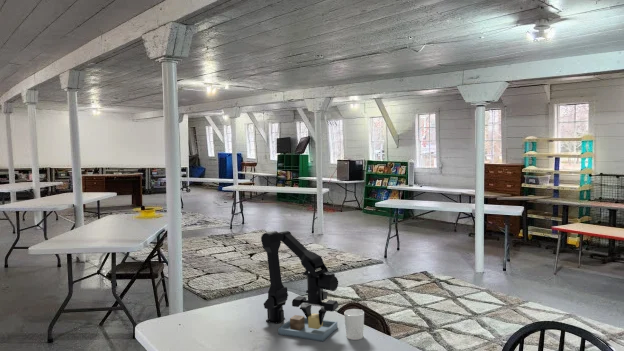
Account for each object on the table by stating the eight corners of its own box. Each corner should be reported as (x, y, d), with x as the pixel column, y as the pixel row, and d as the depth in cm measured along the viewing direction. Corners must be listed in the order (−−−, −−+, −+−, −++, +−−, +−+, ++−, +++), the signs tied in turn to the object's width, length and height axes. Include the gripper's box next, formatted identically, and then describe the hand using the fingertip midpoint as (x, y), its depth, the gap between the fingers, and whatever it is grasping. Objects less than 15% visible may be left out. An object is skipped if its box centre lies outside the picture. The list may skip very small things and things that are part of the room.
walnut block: (290, 329, 196) (289, 318, 195) (295, 325, 200) (294, 314, 199) (299, 330, 194) (299, 320, 193) (304, 326, 198) (304, 316, 197)
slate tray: (278, 334, 192) (278, 328, 192) (295, 321, 206) (295, 315, 205) (322, 341, 183) (322, 335, 183) (337, 327, 197) (337, 321, 197)
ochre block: (308, 327, 192) (308, 316, 191) (313, 323, 196) (312, 313, 195) (318, 329, 190) (318, 318, 189) (322, 325, 194) (322, 314, 194)
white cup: (363, 341, 182) (363, 316, 182) (343, 340, 184) (342, 315, 183) (365, 333, 190) (364, 309, 190) (346, 332, 192) (345, 308, 191)
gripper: (342, 283, 195) (343, 320, 196) (302, 279, 203) (304, 314, 204) (332, 291, 185) (333, 329, 186) (290, 286, 193) (292, 323, 194)
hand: (315, 323), depth 193 cm, fingers closed on ochre block, 4 cm apart
